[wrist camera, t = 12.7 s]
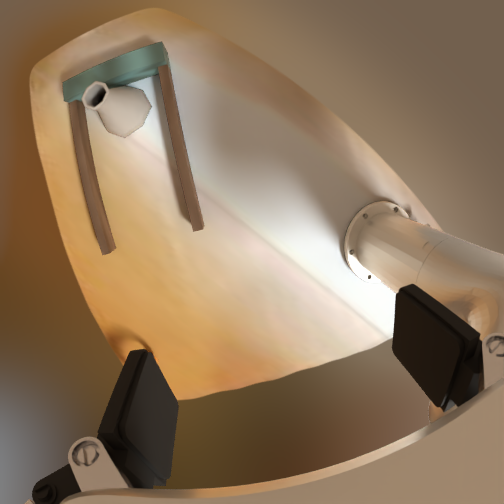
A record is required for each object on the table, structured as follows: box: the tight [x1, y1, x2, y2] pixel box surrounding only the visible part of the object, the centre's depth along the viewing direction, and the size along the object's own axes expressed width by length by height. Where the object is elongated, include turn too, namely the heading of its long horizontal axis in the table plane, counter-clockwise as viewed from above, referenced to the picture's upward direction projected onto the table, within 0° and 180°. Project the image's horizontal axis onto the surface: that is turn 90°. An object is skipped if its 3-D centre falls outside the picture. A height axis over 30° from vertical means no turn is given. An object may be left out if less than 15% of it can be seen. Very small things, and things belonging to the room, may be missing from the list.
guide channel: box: [63, 42, 204, 255], centre depth 30 cm, size 14×25×4 cm, turn 12°
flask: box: [81, 81, 152, 138], centre depth 26 cm, size 7×7×10 cm
